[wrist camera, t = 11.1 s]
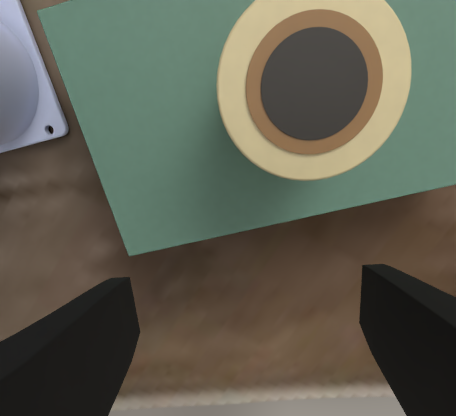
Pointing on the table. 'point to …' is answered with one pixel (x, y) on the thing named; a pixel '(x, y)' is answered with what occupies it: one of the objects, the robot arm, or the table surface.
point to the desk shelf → (213, 125)
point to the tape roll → (313, 84)
